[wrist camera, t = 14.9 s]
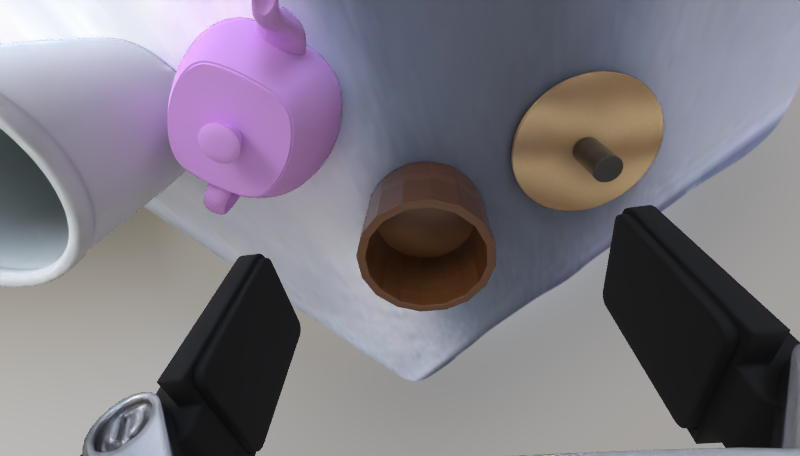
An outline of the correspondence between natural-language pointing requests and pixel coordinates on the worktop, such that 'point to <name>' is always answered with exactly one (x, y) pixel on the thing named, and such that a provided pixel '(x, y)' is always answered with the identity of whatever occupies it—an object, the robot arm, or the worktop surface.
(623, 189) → the lid
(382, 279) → the brown wooden cylinder
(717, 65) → the worktop surface
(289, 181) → the teapot
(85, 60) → the utensil holder
